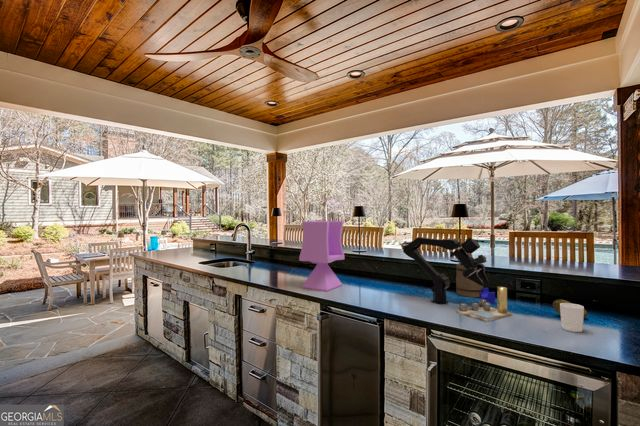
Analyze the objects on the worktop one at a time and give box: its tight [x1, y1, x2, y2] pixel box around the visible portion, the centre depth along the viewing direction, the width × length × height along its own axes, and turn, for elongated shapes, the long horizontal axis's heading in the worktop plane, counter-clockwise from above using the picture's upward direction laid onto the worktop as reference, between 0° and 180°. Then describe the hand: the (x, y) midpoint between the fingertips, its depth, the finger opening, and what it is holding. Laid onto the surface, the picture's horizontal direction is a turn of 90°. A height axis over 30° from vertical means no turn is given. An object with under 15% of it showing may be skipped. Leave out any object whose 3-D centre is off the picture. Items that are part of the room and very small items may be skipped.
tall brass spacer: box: [496, 286, 508, 314], centre depth 151 cm, size 4×4×12 cm
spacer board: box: [455, 305, 513, 323], centre depth 152 cm, size 16×20×1 cm
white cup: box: [560, 302, 585, 333], centre depth 131 cm, size 8×8×10 cm
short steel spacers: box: [459, 298, 491, 312], centre depth 156 cm, size 8×18×4 cm, turn 118°
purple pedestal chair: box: [298, 220, 346, 293], centre depth 213 cm, size 22×22×45 cm
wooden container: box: [455, 262, 484, 298], centre depth 191 cm, size 15×15×22 cm
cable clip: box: [479, 287, 496, 305], centre depth 177 cm, size 12×4×6 cm, turn 169°
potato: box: [552, 298, 588, 319], centre depth 146 cm, size 8×13×8 cm, turn 54°
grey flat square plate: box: [472, 311, 498, 319], centre depth 146 cm, size 8×8×1 cm
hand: (485, 284), depth 157 cm, fingers open, 9 cm apart
